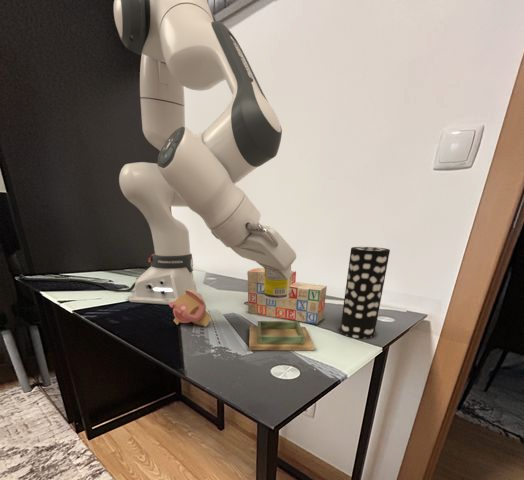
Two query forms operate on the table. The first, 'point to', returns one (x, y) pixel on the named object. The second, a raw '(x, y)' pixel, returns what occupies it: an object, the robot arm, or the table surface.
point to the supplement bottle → (275, 284)
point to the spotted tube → (363, 291)
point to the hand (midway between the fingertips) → (280, 272)
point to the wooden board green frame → (279, 336)
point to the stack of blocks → (295, 307)
